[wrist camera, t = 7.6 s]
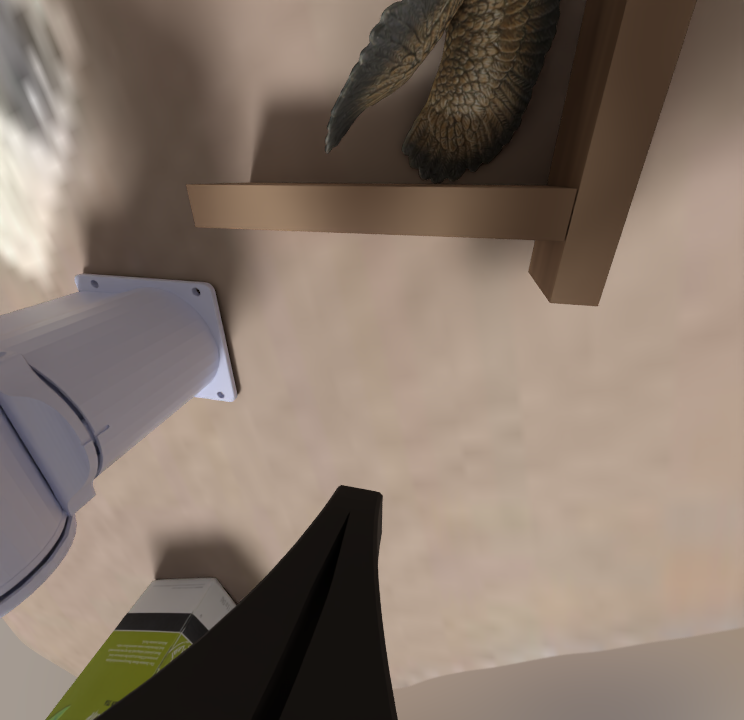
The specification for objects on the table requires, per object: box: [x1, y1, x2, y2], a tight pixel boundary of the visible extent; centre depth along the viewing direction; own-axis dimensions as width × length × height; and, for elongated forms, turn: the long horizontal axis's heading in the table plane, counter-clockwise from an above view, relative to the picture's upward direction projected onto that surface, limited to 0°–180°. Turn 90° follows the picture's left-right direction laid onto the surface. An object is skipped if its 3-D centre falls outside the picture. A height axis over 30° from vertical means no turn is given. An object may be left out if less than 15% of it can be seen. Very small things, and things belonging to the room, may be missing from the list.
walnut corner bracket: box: [186, 0, 697, 306], centre depth 11 cm, size 15×16×4 cm
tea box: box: [46, 578, 236, 720], centre depth 34 cm, size 15×10×15 cm
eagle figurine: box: [325, 0, 560, 184], centre depth 10 cm, size 8×7×9 cm
